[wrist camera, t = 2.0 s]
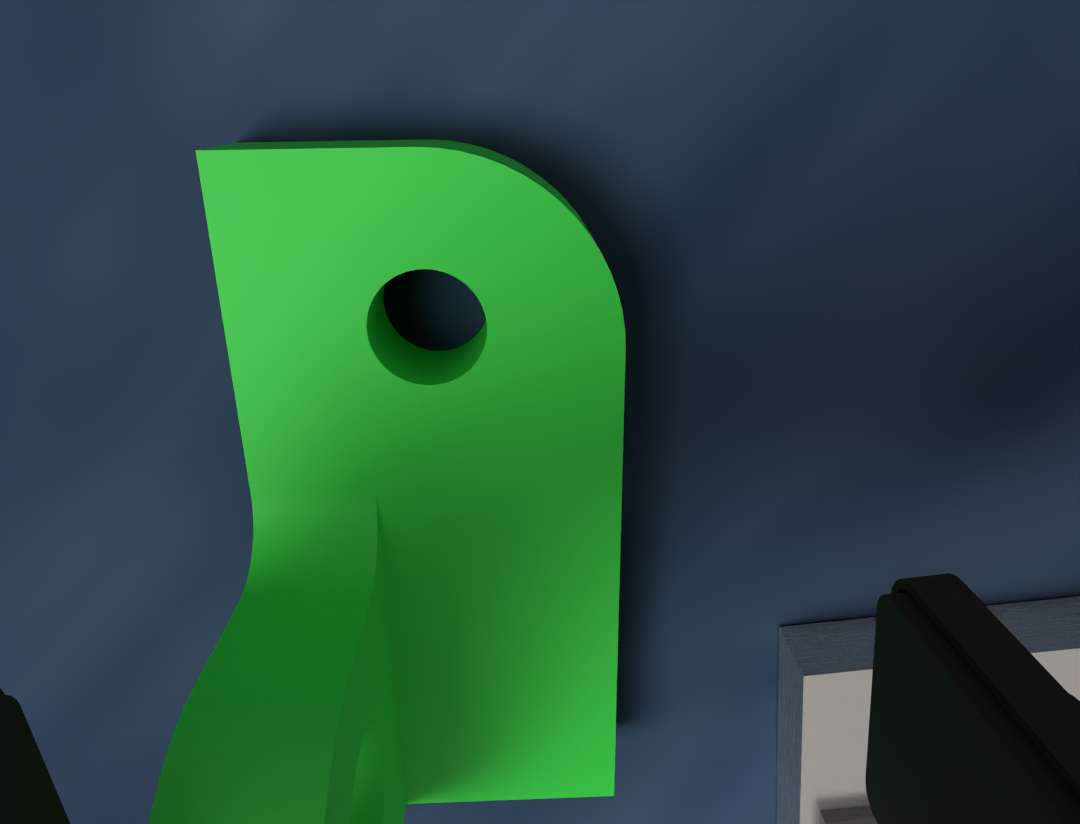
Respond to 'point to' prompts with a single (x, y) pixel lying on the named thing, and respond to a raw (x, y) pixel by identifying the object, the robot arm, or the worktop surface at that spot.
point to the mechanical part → (409, 494)
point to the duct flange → (845, 695)
